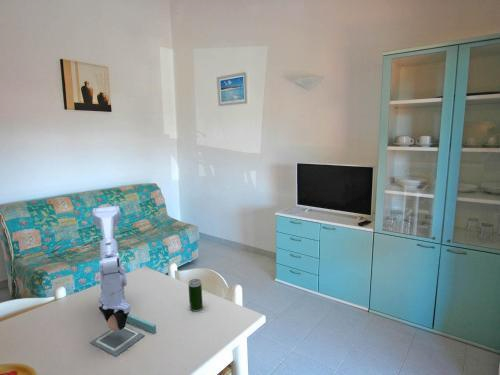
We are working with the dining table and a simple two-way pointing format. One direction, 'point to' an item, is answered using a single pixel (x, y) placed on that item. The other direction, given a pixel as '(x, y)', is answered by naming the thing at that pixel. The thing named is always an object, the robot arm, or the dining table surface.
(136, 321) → the acrylic wall
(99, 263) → the robot arm
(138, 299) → the dining table surface
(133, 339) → the rubber mat
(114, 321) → the ball
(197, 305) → the beer can
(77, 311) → the dining table surface
